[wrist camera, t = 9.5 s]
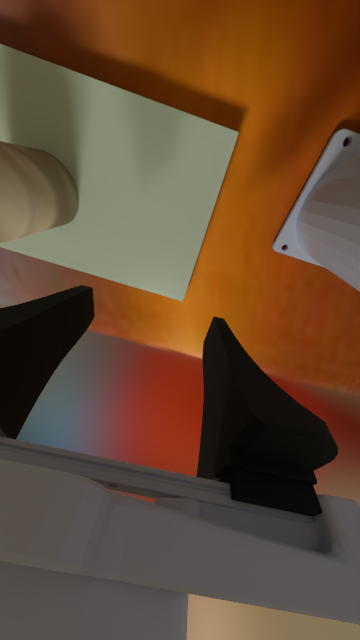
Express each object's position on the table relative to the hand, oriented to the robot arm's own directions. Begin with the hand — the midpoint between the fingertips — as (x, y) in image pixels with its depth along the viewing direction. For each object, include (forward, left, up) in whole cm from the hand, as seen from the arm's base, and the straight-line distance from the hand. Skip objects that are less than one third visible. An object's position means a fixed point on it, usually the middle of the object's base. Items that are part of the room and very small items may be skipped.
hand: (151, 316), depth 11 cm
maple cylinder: (+11, -3, -8) cm, 14 cm away
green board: (+9, -4, -9) cm, 14 cm away
